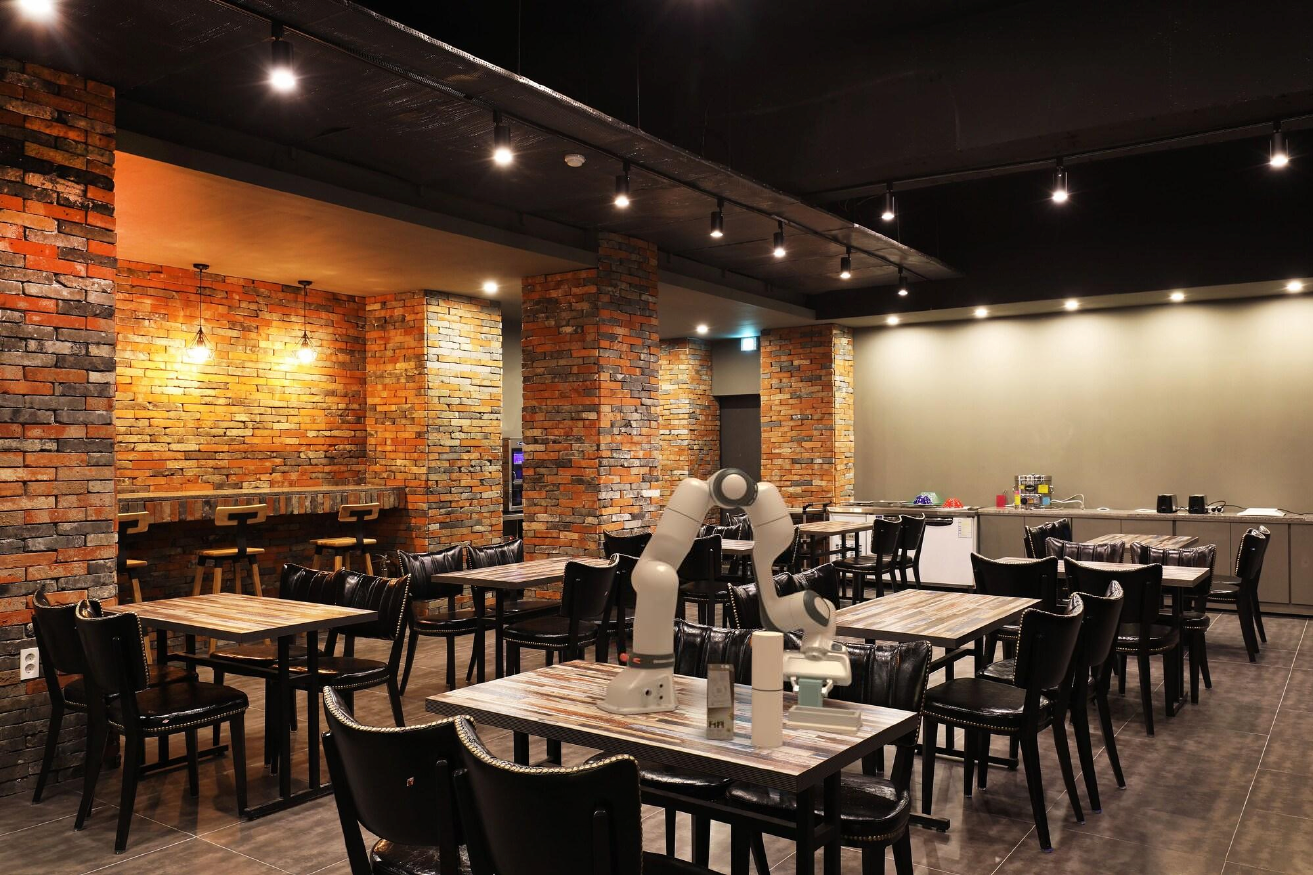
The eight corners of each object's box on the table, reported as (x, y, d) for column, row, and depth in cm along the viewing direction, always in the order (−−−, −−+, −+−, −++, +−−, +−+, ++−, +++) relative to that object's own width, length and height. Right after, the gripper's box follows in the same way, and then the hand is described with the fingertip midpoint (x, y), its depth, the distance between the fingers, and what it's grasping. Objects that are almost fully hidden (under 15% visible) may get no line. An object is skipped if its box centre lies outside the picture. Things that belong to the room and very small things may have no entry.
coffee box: (734, 740, 219) (735, 670, 220) (706, 739, 220) (707, 669, 221) (732, 730, 228) (733, 663, 230) (705, 730, 229) (706, 663, 230)
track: (855, 734, 227) (855, 719, 227) (785, 727, 233) (785, 713, 233) (862, 722, 239) (862, 708, 240) (795, 716, 245) (795, 703, 245)
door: (820, 715, 247) (820, 682, 248) (797, 713, 249) (798, 680, 250) (822, 712, 250) (822, 680, 251) (800, 710, 252) (800, 678, 253)
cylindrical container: (747, 745, 215) (748, 634, 216) (755, 738, 221) (756, 630, 223) (778, 749, 212) (779, 636, 214) (785, 741, 219) (786, 632, 220)
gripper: (777, 642, 261) (769, 684, 251) (852, 647, 254) (847, 690, 244) (780, 656, 265) (772, 698, 255) (854, 661, 258) (849, 704, 248)
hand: (809, 694), depth 250 cm, fingers closed on door, 6 cm apart
